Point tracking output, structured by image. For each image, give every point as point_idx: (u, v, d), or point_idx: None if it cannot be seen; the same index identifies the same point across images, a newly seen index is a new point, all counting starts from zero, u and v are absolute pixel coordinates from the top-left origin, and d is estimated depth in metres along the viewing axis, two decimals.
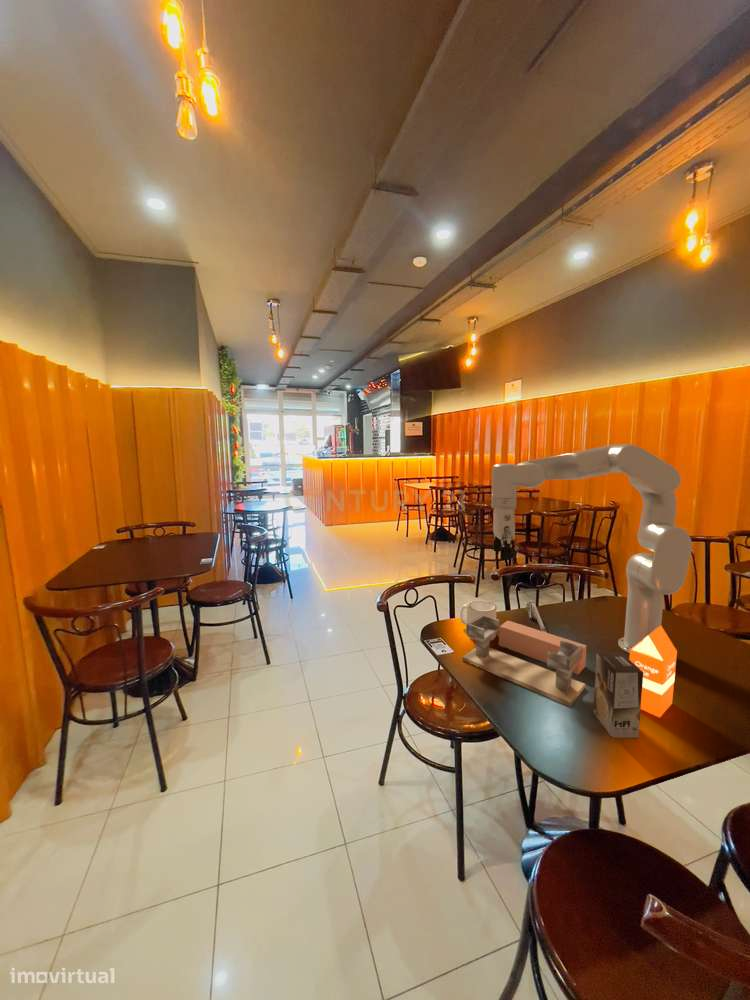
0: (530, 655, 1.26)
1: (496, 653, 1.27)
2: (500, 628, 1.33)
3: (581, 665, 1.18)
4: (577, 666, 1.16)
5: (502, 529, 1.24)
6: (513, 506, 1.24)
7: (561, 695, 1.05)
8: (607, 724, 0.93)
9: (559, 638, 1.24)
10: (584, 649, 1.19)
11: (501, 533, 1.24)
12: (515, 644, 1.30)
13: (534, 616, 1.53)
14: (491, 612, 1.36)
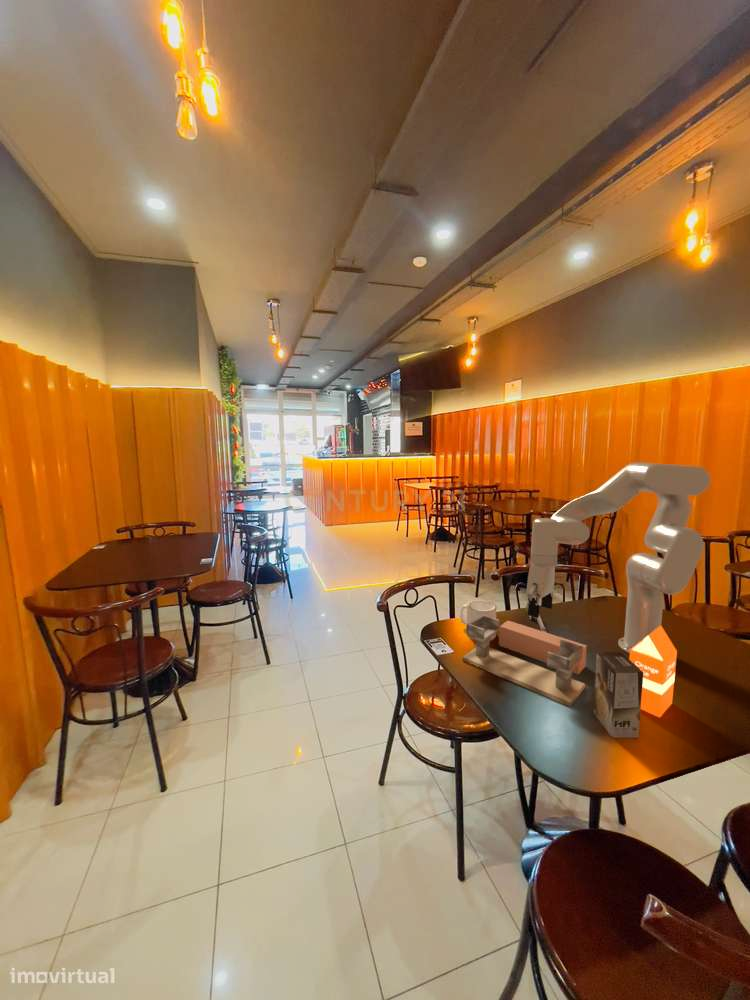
0: (530, 655, 1.26)
1: (496, 653, 1.27)
2: (500, 628, 1.33)
3: (581, 665, 1.18)
4: (577, 666, 1.16)
5: None
6: None
7: (561, 695, 1.05)
8: (607, 724, 0.93)
9: (559, 638, 1.24)
10: (584, 649, 1.19)
11: None
12: (515, 644, 1.30)
13: None
14: (491, 612, 1.36)
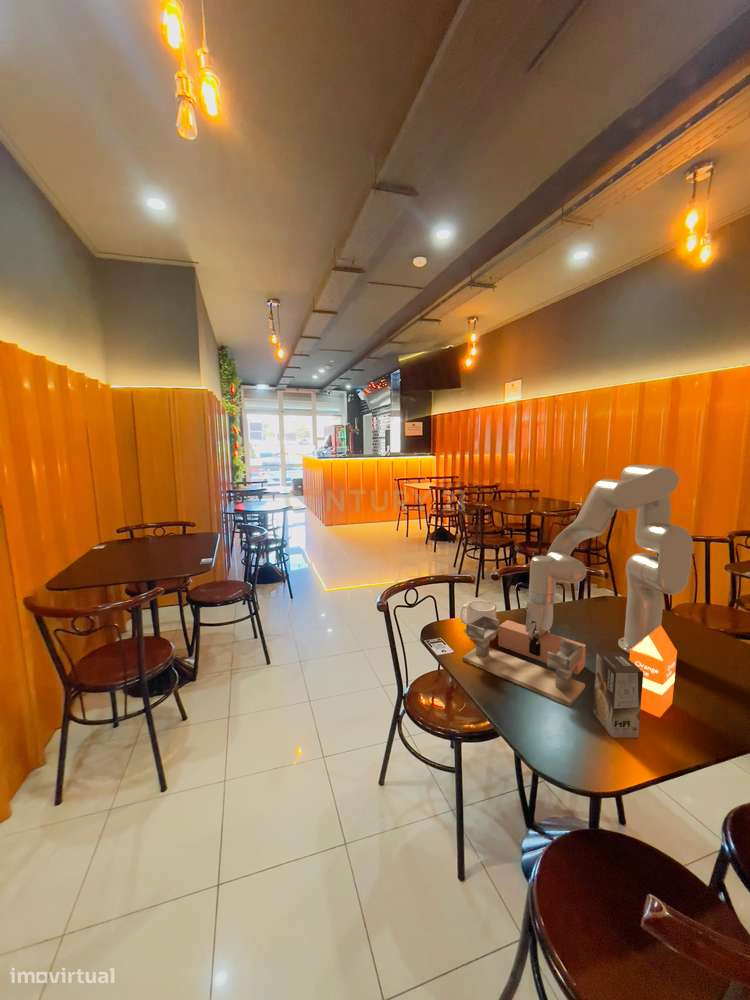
0: (529, 654, 1.26)
1: (496, 653, 1.27)
2: (499, 627, 1.33)
3: (580, 664, 1.18)
4: (576, 665, 1.16)
5: None
6: None
7: (561, 695, 1.05)
8: (607, 724, 0.93)
9: (559, 637, 1.24)
10: (583, 648, 1.19)
11: None
12: (515, 644, 1.30)
13: None
14: (491, 612, 1.36)
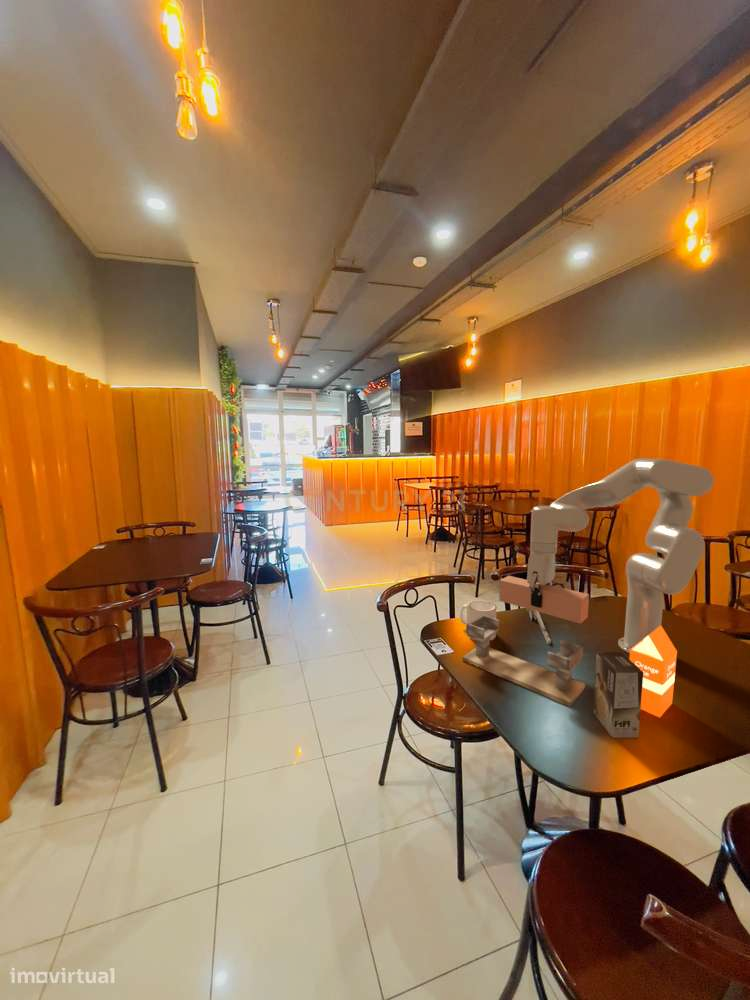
0: (531, 607, 1.24)
1: (496, 653, 1.27)
2: (500, 582, 1.30)
3: (583, 614, 1.15)
4: (579, 614, 1.14)
5: None
6: None
7: (561, 695, 1.05)
8: (607, 724, 0.93)
9: (561, 589, 1.21)
10: (586, 597, 1.16)
11: None
12: (516, 597, 1.27)
13: (535, 616, 1.53)
14: (491, 612, 1.36)
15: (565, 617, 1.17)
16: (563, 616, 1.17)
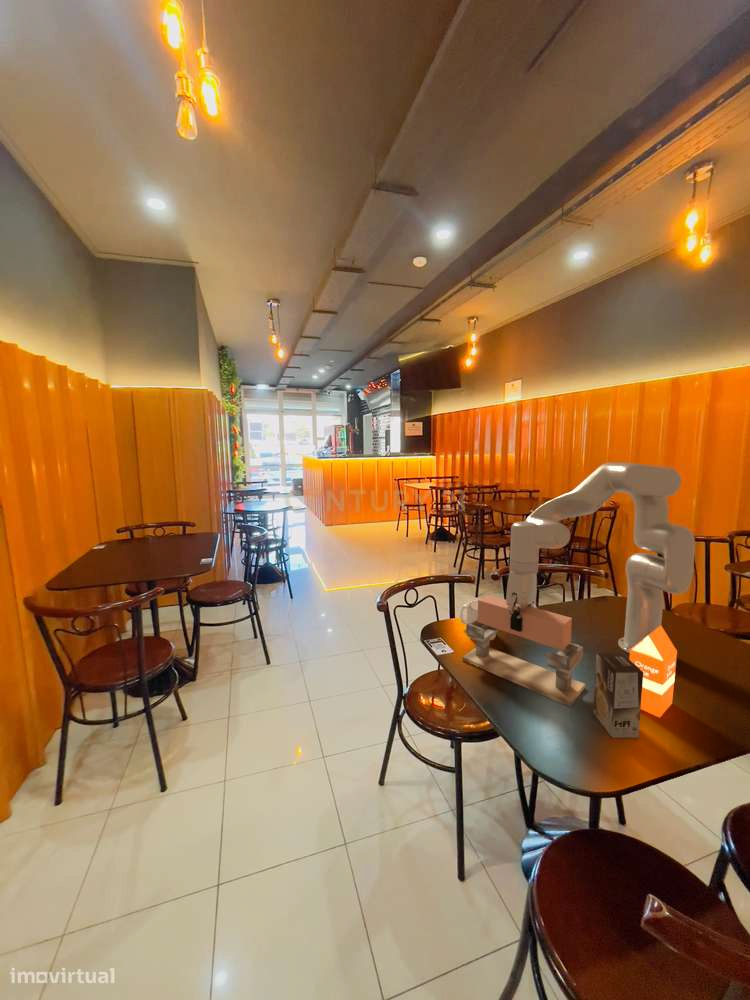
0: (511, 630, 1.15)
1: (496, 653, 1.27)
2: (479, 602, 1.21)
3: (566, 639, 1.06)
4: (561, 640, 1.05)
5: None
6: None
7: (561, 695, 1.05)
8: (607, 724, 0.93)
9: (543, 611, 1.13)
10: (569, 622, 1.07)
11: None
12: (495, 619, 1.18)
13: None
14: None
15: (546, 643, 1.08)
16: (544, 642, 1.08)
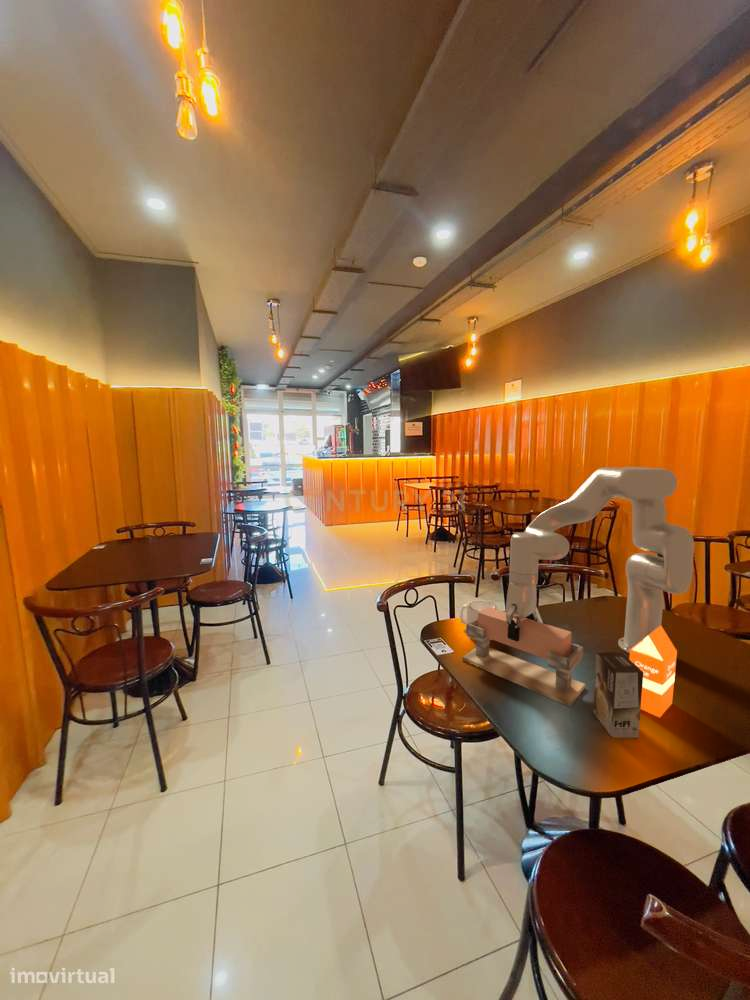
0: (511, 643, 1.15)
1: (496, 653, 1.27)
2: (479, 614, 1.22)
3: (565, 653, 1.07)
4: (561, 654, 1.05)
5: None
6: None
7: (561, 695, 1.05)
8: (607, 724, 0.93)
9: (542, 624, 1.13)
10: (569, 636, 1.08)
11: None
12: (495, 632, 1.19)
13: (535, 616, 1.52)
14: None
15: (546, 656, 1.08)
16: (544, 655, 1.09)
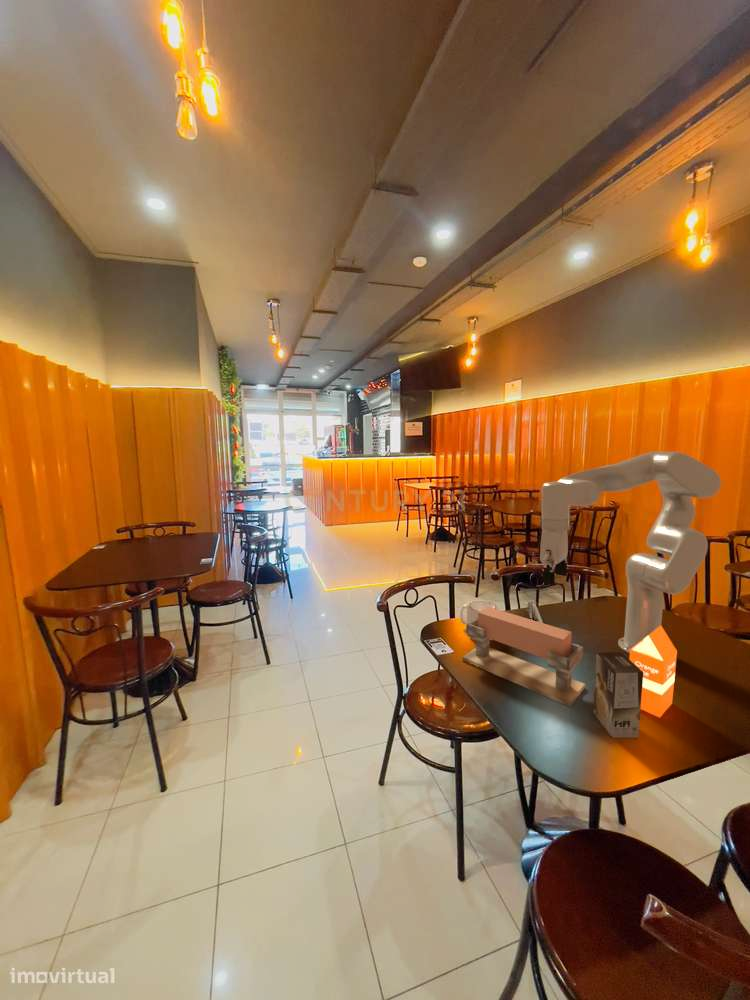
0: (511, 643, 1.15)
1: (496, 653, 1.27)
2: (479, 614, 1.22)
3: (565, 653, 1.07)
4: (561, 654, 1.05)
5: None
6: None
7: (561, 695, 1.05)
8: (607, 724, 0.93)
9: (542, 624, 1.13)
10: (569, 636, 1.08)
11: None
12: (495, 632, 1.19)
13: (535, 617, 1.52)
14: None
15: (546, 656, 1.08)
16: (544, 655, 1.09)
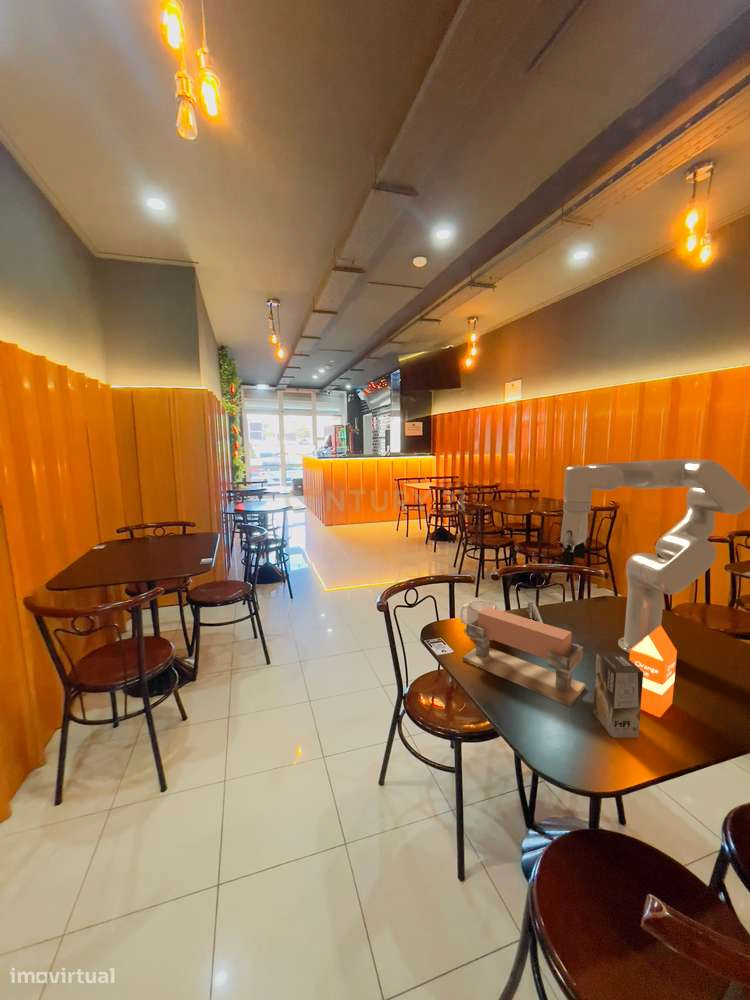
0: (511, 643, 1.15)
1: (496, 653, 1.27)
2: (479, 614, 1.22)
3: (565, 653, 1.07)
4: (561, 654, 1.05)
5: None
6: None
7: (561, 695, 1.05)
8: (607, 724, 0.93)
9: (542, 624, 1.13)
10: (569, 636, 1.08)
11: None
12: (495, 632, 1.19)
13: (535, 617, 1.52)
14: None
15: (546, 656, 1.08)
16: (544, 655, 1.09)
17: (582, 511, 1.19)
